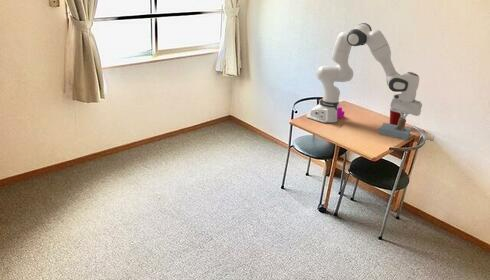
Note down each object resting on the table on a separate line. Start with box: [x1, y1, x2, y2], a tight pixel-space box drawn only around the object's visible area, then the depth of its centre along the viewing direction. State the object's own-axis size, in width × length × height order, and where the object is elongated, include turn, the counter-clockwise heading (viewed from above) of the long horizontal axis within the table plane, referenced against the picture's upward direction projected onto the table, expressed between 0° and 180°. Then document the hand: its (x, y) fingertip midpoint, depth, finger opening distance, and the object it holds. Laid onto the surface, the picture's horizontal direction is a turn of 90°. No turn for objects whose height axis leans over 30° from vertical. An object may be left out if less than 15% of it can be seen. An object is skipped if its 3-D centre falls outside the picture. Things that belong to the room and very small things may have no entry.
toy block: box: [337, 106, 345, 119], centre depth 291 cm, size 15×6×8 cm, turn 18°
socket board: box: [378, 122, 412, 141], centre depth 260 cm, size 18×14×4 cm
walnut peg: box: [396, 118, 407, 131], centre depth 257 cm, size 4×4×10 cm
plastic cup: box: [389, 107, 405, 125], centre depth 274 cm, size 11×11×12 cm
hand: (402, 118), depth 255 cm, fingers closed
